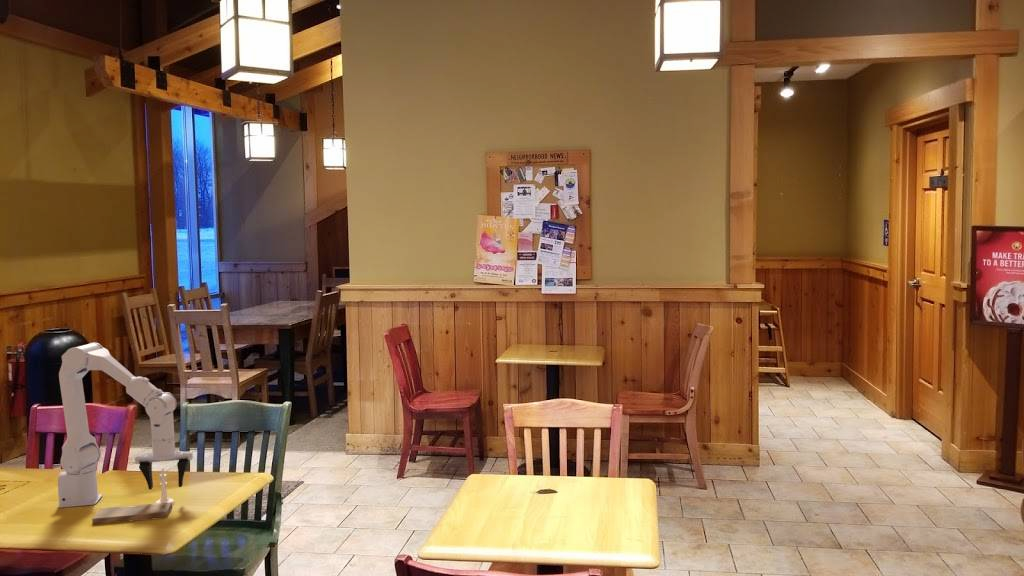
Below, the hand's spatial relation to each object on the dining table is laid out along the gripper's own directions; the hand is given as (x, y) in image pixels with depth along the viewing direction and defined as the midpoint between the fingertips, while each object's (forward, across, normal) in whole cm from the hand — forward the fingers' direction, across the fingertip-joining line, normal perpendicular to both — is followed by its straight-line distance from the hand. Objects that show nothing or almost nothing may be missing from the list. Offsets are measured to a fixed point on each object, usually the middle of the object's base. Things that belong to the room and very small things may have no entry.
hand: (165, 487), depth 237 cm
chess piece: (+5, 0, 0) cm, 5 cm away
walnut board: (+5, -7, -8) cm, 12 cm away
